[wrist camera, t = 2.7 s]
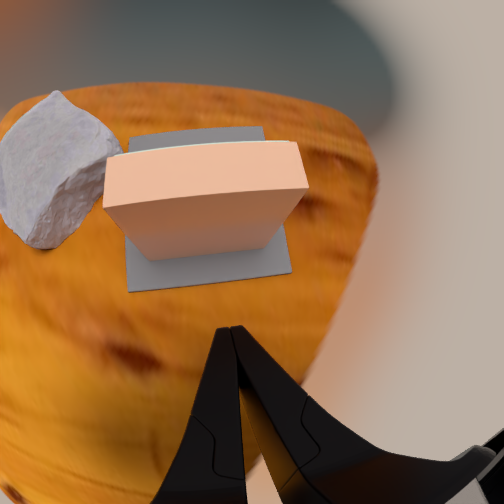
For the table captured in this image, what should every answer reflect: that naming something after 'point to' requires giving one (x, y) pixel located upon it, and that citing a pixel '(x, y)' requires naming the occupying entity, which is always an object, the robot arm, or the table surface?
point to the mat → (213, 265)
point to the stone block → (53, 170)
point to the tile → (204, 196)
